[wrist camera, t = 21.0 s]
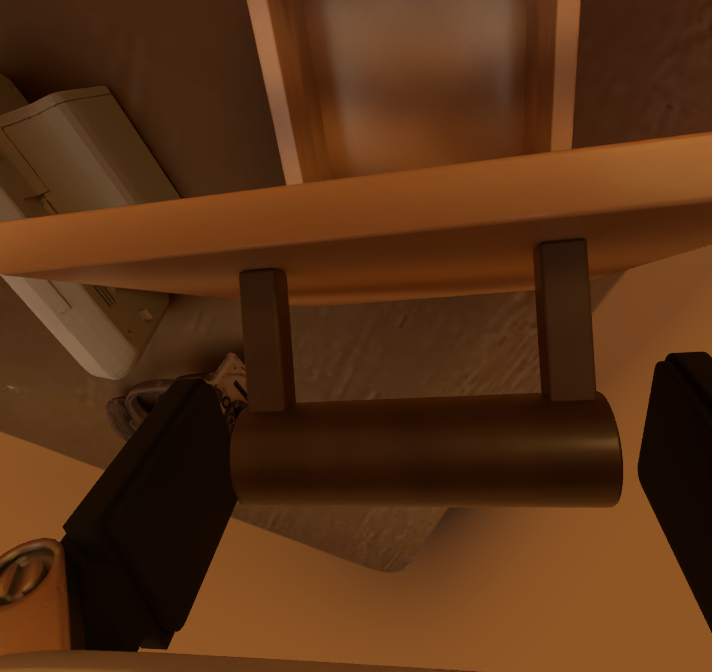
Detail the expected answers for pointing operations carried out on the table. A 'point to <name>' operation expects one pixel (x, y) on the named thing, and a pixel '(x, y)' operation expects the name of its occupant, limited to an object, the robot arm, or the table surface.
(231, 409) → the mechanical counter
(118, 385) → the table surface
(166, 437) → the robot arm
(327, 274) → the lid
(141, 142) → the digital clock
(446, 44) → the pencil box
